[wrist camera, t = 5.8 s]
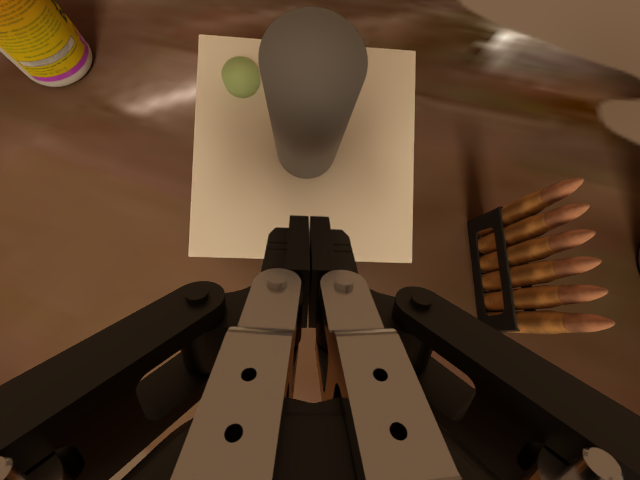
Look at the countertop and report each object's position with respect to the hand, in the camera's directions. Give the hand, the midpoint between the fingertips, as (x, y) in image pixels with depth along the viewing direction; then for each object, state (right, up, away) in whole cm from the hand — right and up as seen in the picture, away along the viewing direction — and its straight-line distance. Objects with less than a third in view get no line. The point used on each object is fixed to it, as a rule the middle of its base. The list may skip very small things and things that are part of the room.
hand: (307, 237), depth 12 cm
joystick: (0, +6, +10) cm, 12 cm away
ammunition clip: (+16, -4, +18) cm, 25 cm away
